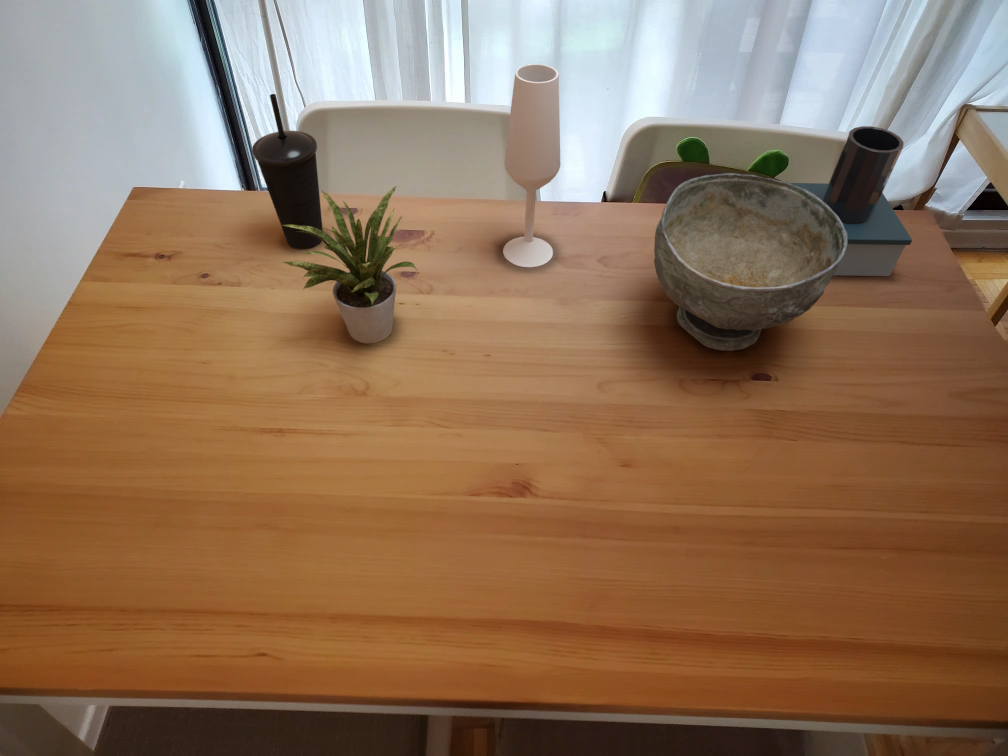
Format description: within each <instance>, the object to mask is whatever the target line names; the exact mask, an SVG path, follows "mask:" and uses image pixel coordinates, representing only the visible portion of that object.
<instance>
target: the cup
mask: <svg viewBox="0 0 1008 756" xmlns="http://www.w3.org/2000/svg"><path fill="white" fill-rule="evenodd" d="M904 143H905V142H904V141H903V139H902V138H901V137H900V136H899V135H897V134H896V133H895V132H893V131H890V130H889V129H886V128H882V127H877V126H872V125H871V126H870V125H869V126H868V125H867V126H866V125H865V126H864V125H862V126H857V127H854V128H852V129H851V130H850V131H848V133H847V136H846V139H845V141H844V144H843V146H842V149H841V152H840V153H839V156H838V159H837V162H836V163H835V167H834V169H833V172H832V174H831V177H830V179H829V182H828V183H827V184H828V187H827V189H826V192H825V194H824V197H823V200H822V201H823V202H825V203H826V204H827V205H828V206H829V207H830V208H831V209H832V210H833V211H834V213H835V214H836V215H837V216H838V217H839V218H840V220H841V222H842V223H847V224H861V223H864V222H866V221H868V220H869V219H870V217H871V215H872V214H873V212H874V209H875V207H876V205H877V203H878V201H879V199H880V196H881V194H882V193H883V192H884V190H885V188H886V186H887V184H888V181H889V179H890V177H891V175H892V173H893V171H894V168H895V166H896V164H897V162H898V160H899V158H900V155H901V154H902V151H903V149H904Z"/></svg>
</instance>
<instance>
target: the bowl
mask: <svg viewBox="0 0 1008 756" xmlns="http://www.w3.org/2000/svg"><path fill="white" fill-rule="evenodd" d="M790 183H791V182H788V181H783V180H778V179H773V178H770V177H762V176H759V175H756V174H755V175H754V174H741V173H735V172H734V173H733V172H724V173H718V174H717V173H716V174H705V175H701V176H697V177H694V178H690V179H687V180H685V181H683V182H681V183H680V184H678V186H676V187H675V188H674V190H672V192H671V194H670V196H669V197H668V198H667V201H666V203H665V205H664V208H663V210H662V213H661V217H660V220H659V221H658V223H657V224H656V228H655V232H654V246H653V247H654V248H653V249H654V250H653V251H654V253H653V254H654V260H653V263H654V267H655V268H654V269H655V272H656V277H657V280H658V282H659V284H660V286H661V288H662V290H663V291H664V293H665V294H666V296H667V298H668V299H669V300H671V301H672V302H673V303H674V304H676V305H677V306H678V310H677V313H676V320H677V323H678V325H679V326H680V327H681V328H683V329H684V330H685V331H686V332H687V333H688V334H689V335H690V336H692V337H693V338H694V339H695V340H697V342H698V343H700V344H701V345H702V346H704V347H706V348H709V349H713V350H718V351H729V352H733V351H739V350H743V349H746V348H748V347H750V346H752V345H754V344H755V343H757V341H758V339H760V335H761V332H762V329H770V328H774V327H778V326H781V325H784V324H786V323H789V322H791V321H793V320H794V319H796V318H798V317H800V316H802V315H803V314H805V313H806V312H808V311H810V310H811V309H812V308H813V307H814V305H815V304H816V303H817V302H818V301H819V299H821V297H822V296H823V295H824V292H825V290H826V288H827V286H828V285H829V284H830V283H831V280H832V278H833V276H834V275H833V274H834V273H835V271H836V269H837V267H838V264H839V262H840V260H841V259H842V257H843V255H844V253H845V251H846V247H847V232H846V230H845V228H844V226H843V224H842V222H841V220H840V218H839V217H838V216H837V215H836V214H835V213H834V211H833V210H832V209H831V208H830V207H829V206H828V205H827V204H826V203H825V202H823V201H822V200H821V199H820V198H818V197H817V196H816V195H814V194H813V193H811V192H809V191H807V190H806V189H803V188H800V187H797V186H795V185H792V184H790Z"/></svg>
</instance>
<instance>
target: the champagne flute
mask: <svg viewBox="0 0 1008 756" xmlns="http://www.w3.org/2000/svg"><path fill="white" fill-rule="evenodd" d="M512 87H513V88H512V96H511V103H510V104H511V105H510V112H509V113H510V114H509V121H508V129H507V138H506V147H505V155H504V169H505V171H506V173H507V174H508V176H509V177H510V179H511V180H512V181H513V182H514V183H516V184H517V185H518V186H519V187H521V189H524V190H525V212H524V234H523V236H519V237H515V238H512V239H510V240H509V241H507V242H506V244H505V245H504V246H503V249H502V253H503V257H504V258H505V259H506V260H507V261H508V262H509V263H511V264H512V265H515V266H518V267H522V268H535V267H536V268H537V267H540V266H543V265H545V264H547V263H548V262H549V261H550V260H551V259H552V258H553V255H554V249H553V248H552V246H551V244H549V242H547V241H546V240H544V239H542V238H539V237H535V236H534V231H535V214H536V195H537V194H536V193H537V190H540V189H542V188H543V187H544V186H546V185H548V184H549V183H551V182H552V180H554V178H555V177H556V176H557V174H559V171H560V169H561V127H560V126H561V123H560V76H559V71H558V70H557V68H555V67H553V66H551V65H548V64H544V63H529V64H524V65H521V66H519V67H518V68H517V69H516V70H515V72H514V80H513V86H512Z"/></svg>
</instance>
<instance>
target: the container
mask: <svg viewBox="0 0 1008 756" xmlns="http://www.w3.org/2000/svg"><path fill="white" fill-rule="evenodd" d="M789 183H790V184H792V185H795V186H797V187H800V188H803V189H806V190H807V191H809V192H811V193H813V194H814V195H816V196H817V197H818V198H820V199H821V200H823V197H824V194H825V192H826V189H827V187H828V184H829V183H823V182H822V183H821V182H819V183H818V182H817V183H816V182H789ZM842 224H843V226H844V228H845V230H846V232H847V247H846V251H845V253H844V255H843V257H842V259H841V260H840V262H839V264H838V267H837V269H836V271H835V273H834V274H833V276H841V277H843V276H845V277H848V276H850V277H851V276H852V277H890V276H891V275H892V272H893V271H894V269H895V267H896V265H897V263H898V261H899V259H900V257H901V256H902V253H903V252H904V249H905V248H906V246H910V245H911V244H912V242H913V239H912V237H911V235H910V233H908V231H907V229H906V227H905V226H904V224H903V222H902V221H901V220H900V218H899V217H898V215H897V213H896V212H895V210H894V209H893V207H892V205H891V204H890V202H889V201H888V199H887V198H886V195H884V193H883V192H882V194H881V196H880V199H879V201H878V203H877V205H876V207H875V209H874V212H873V214H872V215H871V217H870V219H869V220H868V221H866V222H864V223H861V224H847V223H842Z"/></svg>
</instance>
